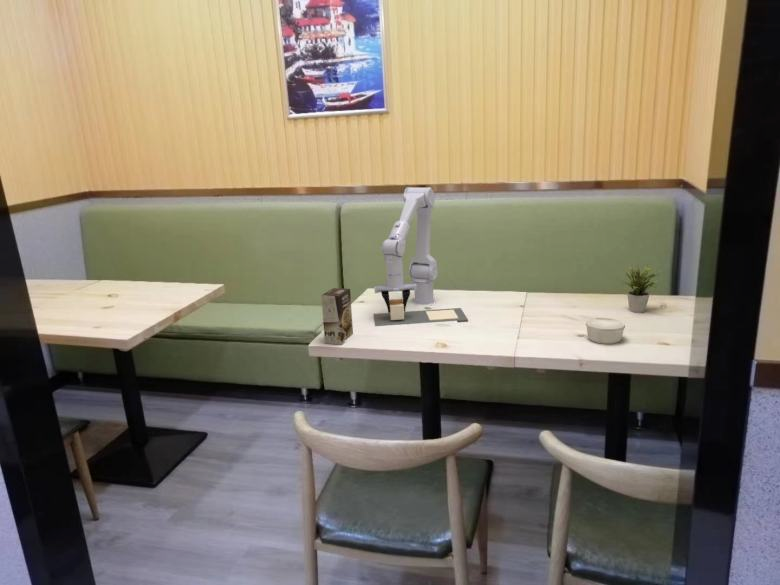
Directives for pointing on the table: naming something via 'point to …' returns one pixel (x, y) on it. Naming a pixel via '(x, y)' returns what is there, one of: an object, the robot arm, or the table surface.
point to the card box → (396, 309)
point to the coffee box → (337, 315)
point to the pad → (441, 315)
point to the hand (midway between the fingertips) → (396, 311)
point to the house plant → (639, 289)
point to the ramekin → (605, 330)
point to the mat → (415, 317)
